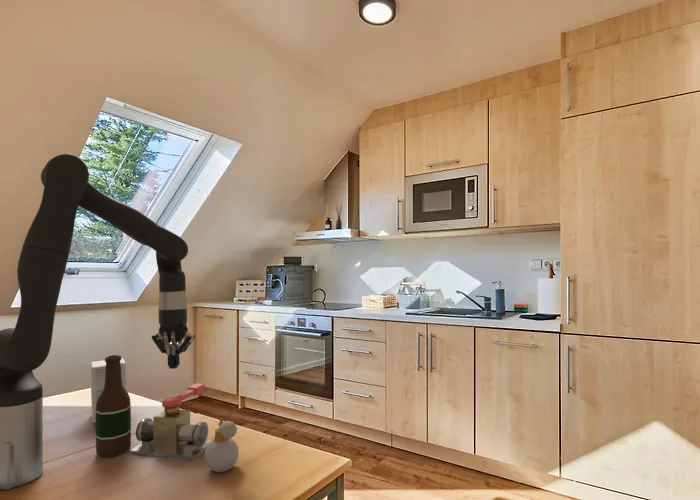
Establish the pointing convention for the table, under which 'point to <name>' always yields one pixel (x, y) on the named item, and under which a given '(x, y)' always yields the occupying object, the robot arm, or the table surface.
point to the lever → (183, 396)
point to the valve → (171, 435)
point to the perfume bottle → (222, 448)
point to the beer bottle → (113, 413)
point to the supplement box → (101, 381)
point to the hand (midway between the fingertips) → (173, 367)
